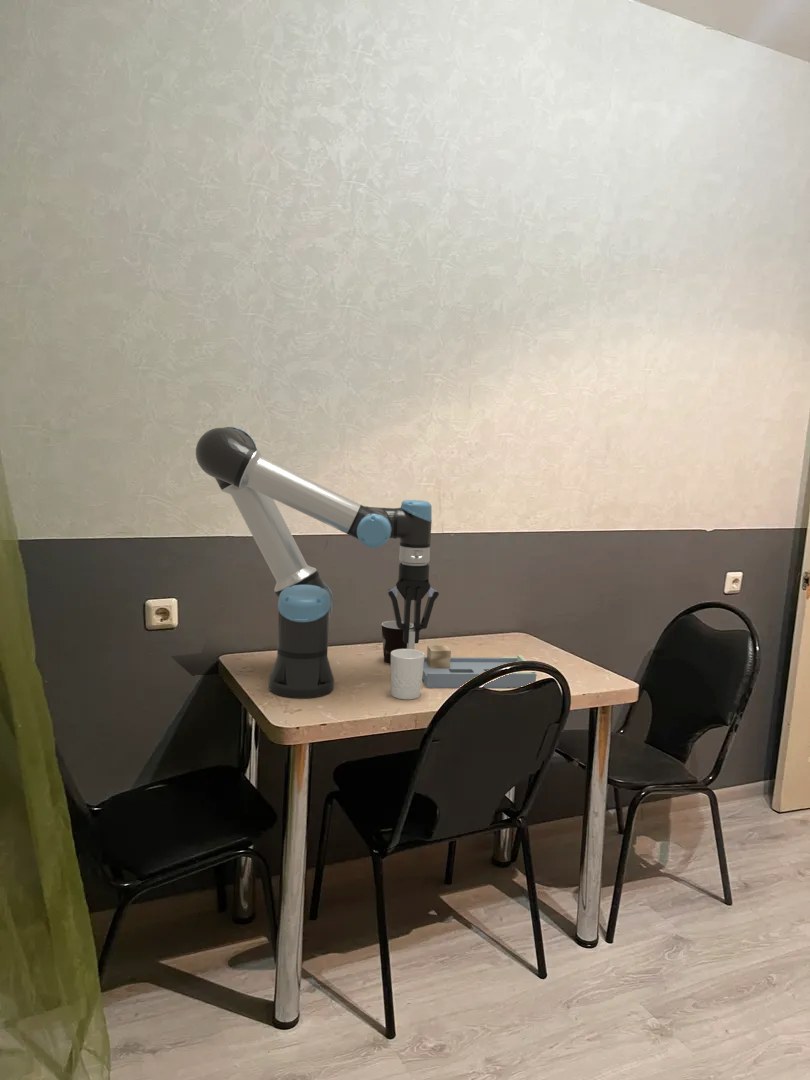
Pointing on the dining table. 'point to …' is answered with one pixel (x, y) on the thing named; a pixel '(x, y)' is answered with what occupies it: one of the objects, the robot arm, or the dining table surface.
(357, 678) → the dining table surface
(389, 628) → the coffee mug
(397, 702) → the dining table surface
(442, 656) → the block
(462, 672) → the box
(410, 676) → the white cup
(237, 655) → the dining table surface
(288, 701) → the dining table surface
